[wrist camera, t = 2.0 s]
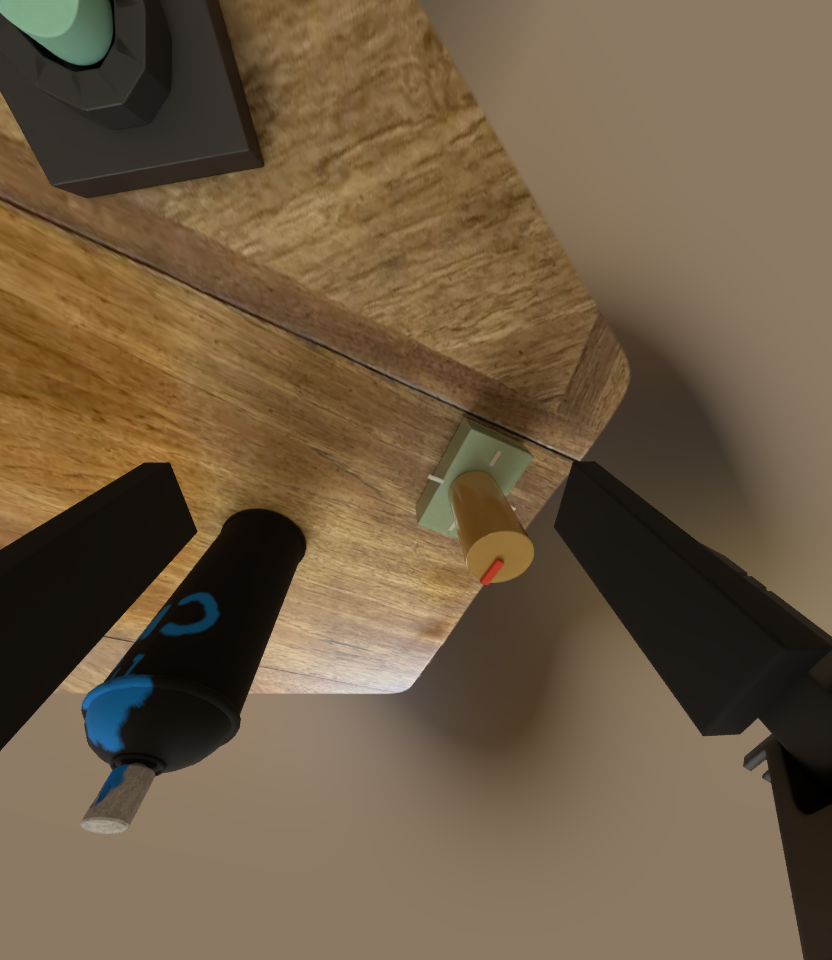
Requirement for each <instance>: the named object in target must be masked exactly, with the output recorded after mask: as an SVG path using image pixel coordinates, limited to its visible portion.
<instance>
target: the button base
mask: <svg viewBox="0 0 832 960" xmlns="http://www.w3.org/2000/svg"><path fill="white" fill-rule="evenodd" d="M110 3H111V8H112V14H113V37H112V42H111V45H110V48H109V50H108V52H107V54H106V55H105V56H104V58H102V59H101V60H100V61H99V62H97V63H95V64H92V65H85V66H83V65H76V64H72V63H69V62H67V61H65V60H63V59H61V58H59V57H58V56H56V55H55V54H53V53H52V52H50V51H49V50H48V49H46V48H45V47H44V46H42V45H41V44H40V43H38V42H37V41H36V40H34V39H33V38H32V37H30V36H29V35H28V34H26V33H25V32H24V31H22V30H21V29H20V28H18V27H17V26H15V25H14V24H13V23H11V22H10V21H9V20H8V19H7V18H5V17H4V16H3V15H2V14H1V13H0V91H1V93H2V95H3V97H4V99H5V100H6V102H7V104H8V106H9V108H10V110H11V111H12V113H13V115H14V117H15V119H16V121H17V123H18V124H19V126H20V128H21V130H22V132H23V134H24V136H25V137H26V139H27V141H28V143H29V145H30V147H31V149H32V150H33V152H34V154H35V156H36V158H37V160H38V162H39V163H40V165H41V167H42V169H43V171H44V173H45V175H46V176H47V178H48V180H49V182H50V184H51V185H52V186H54V187H57V188H59V189H62V190H65V191H68V192H71V193H73V194H76V195H79V196H82V197H85V198H90V197H96V196H101V195H107V194H113V193H118V192H124V191H129V190H135V189H141V188H146V187H152V186H157V185H163V184H169V183H174V182H180V181H186V180H191V179H197V178H202V177H208V176H214V175H219V174H225V173H230V172H236V171H242V170H247V169H253V168H258V167H263V166H264V162H263V159H262V155H261V151H260V148H259V144H258V141H257V137H256V134H255V130H254V127H253V123H252V119H251V116H250V112H249V109H248V105H247V102H246V98H245V95H244V91H243V87H242V84H241V80H240V77H239V73H238V70H237V66H236V63H235V59H234V55H233V52H232V48H231V45H230V41H229V38H228V34H227V31H226V27H225V23H224V20H223V16H222V13H221V9H220V6H219V2H218V0H110Z"/></svg>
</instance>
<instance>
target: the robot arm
mask: <svg viewBox="0 0 832 960" xmlns="http://www.w3.org/2000/svg"><path fill="white" fill-rule="evenodd" d="M554 528H555V529H556V531H557V532H558V533H559V535H560V536H561V538H562V539H563V540H564V542H565V543H566V545H567V546H568V547H569V549H570V550H571V552H572V553H573V554H574V556H575V557H576V559H577V560H578V561H579V563H580V564H581V566H582V567H583V569H584V570H585V571H586V573H587V574H588V576H589V577H590V578H591V580H592V581H593V582H594V584H595V585H596V587H597V588H598V590H599V591H600V592H601V593H602V595H603V597H604V598H605V599H606V601H607V602H608V604H609V605H610V606H611V608H612V609H613V611H614V612H615V613H616V615H617V616H618V618H619V619H620V620H621V622H622V623H623V625H624V626H625V627H626V629H627V630H628V632H629V633H630V634H631V636H632V637H633V639H634V640H635V641H636V643H637V644H638V646H639V647H640V648H641V650H642V651H643V653H644V654H645V655H646V657H647V658H648V660H649V661H650V662H651V664H652V665H653V667H654V668H655V670H656V671H657V672H658V674H659V675H660V676H661V678H662V679H663V681H664V682H665V684H666V685H667V686H668V688H669V689H670V691H671V692H672V693H673V695H674V696H675V698H676V699H677V700H678V702H679V703H680V705H681V706H682V707H683V709H684V710H685V712H686V713H687V714H688V716H689V717H690V719H691V720H692V721H693V723H694V724H695V726H696V727H697V728H698V730H699V731H700V733H701V734H702V735H703V736H716V735H735V734H741V733H742V732H743V731H744V730H745V729H746V728H747V727H749V726H750V725H751V724H752V723H753V722H754V721H755V720H756V719H757V718H759V719H760V720H761V721H762V723H763V724H764V725H765V726H766V727H767V728H768V729H769V730H770V732H771V733H772V734H771V735H770V736H769V737H767V738H766V739H765V740H764V741H763V742H762V743H760V744H759V745H758V746H757V747H755V748H754V749H753V750H752V751H751V752H750V753H748V754H747V755H746V756H745V758H744V764H743V767H745V768H746V769H748V770H750V771H751V770H753V769H754V768H755V767H757V766H758V765H759V764H760V763H762V762H763V761H764V760H767V763H768V768H769V770H767V771H766V772H765V773H764V774H763V776H762V778H763V779H765V780H767V781H769V782H770V783H771V784H772V790H773V795H774V801H775V806H776V812H777V817H778V823H779V828H780V833H781V839H782V844H783V850H784V855H785V860H786V866H787V871H788V877H789V882H790V887H791V892H792V898H793V904H794V909H795V915H796V920H797V925H798V931H799V936H800V941H801V946H802V952H803V958H804V960H832V637H831V636H830V635H829V634H827V633H826V632H825V631H823V630H822V629H821V628H819V627H818V626H817V625H815V624H814V623H813V622H811V621H810V620H809V619H807V618H806V617H805V616H803V615H802V614H801V613H800V612H798V611H797V610H796V609H794V608H793V607H792V606H790V605H789V604H788V603H786V602H785V601H784V600H782V599H781V598H780V597H778V596H777V595H776V594H774V593H773V592H772V591H767V590H766V587H765V586H764V585H763V584H761V583H760V582H759V581H757V580H756V579H755V578H753V577H752V576H748V575H747V572H745V571H744V570H743V569H741V568H740V567H739V566H737V565H736V564H735V563H733V562H732V561H731V560H729V559H728V558H727V557H726V556H724V555H722V554H720V553H718V552H716V551H714V550H713V549H710V548H709V547H707V546H705V545H703V544H701V543H699V542H698V541H696V540H695V539H694V538H692V537H691V536H690V535H689V534H687V533H686V532H685V531H683V530H682V529H681V528H680V527H678V526H677V525H676V524H674V523H673V522H672V521H671V520H669V519H668V518H667V517H666V516H664V515H663V514H662V513H660V512H659V511H658V510H656V509H655V508H654V507H652V506H651V505H650V504H649V503H648V502H646V501H645V500H644V499H642V498H641V497H640V496H638V495H637V494H636V493H635V492H633V491H632V490H631V489H630V488H628V487H627V486H626V485H624V484H623V483H622V482H621V481H619V480H618V479H617V478H615V477H614V476H613V475H612V474H610V473H609V472H608V471H606V470H605V469H604V468H603V467H601V466H600V465H599V464H597V463H596V462H573V463H572V467H571V470H570V473H569V477H568V480H567V484H566V487H565V491H564V494H563V497H562V501H561V504H560V508H559V511H558V515H557V518H556V521H555V525H554ZM196 533H197V529H196V527H195V524H194V522H193V519H192V517H191V514H190V512H189V509H188V507H187V504H186V502H185V499H184V497H183V494H182V492H181V489H180V487H179V484H178V482H177V479H176V477H175V474H174V472H173V469H172V467H171V464H170V463H143V464H141V465H140V466H138V467H136V468H135V469H133V470H131V471H130V472H128V473H127V474H125V475H123V476H122V477H120V478H118V479H117V480H115V481H113V482H112V483H110V484H108V485H107V486H105V487H103V488H102V489H100V490H98V491H97V492H95V493H94V494H92V495H90V496H89V497H87V498H85V499H84V500H82V501H80V502H79V503H77V504H75V505H74V506H72V507H70V508H69V509H67V510H65V511H64V512H62V513H60V514H59V515H57V516H56V517H54V518H52V519H51V520H49V521H47V522H46V523H44V524H42V525H41V526H39V527H37V528H36V529H34V530H32V531H31V532H29V533H27V534H26V535H24V536H23V537H21V538H19V539H18V540H16V541H14V542H13V543H11V544H9V545H8V546H6V547H4V548H3V549H1V550H0V751H1V750H2V748H3V747H4V746H5V745H6V744H7V743H8V742H9V741H10V740H11V738H12V737H13V736H14V735H15V734H16V733H17V732H18V731H19V730H20V728H21V727H22V726H23V725H24V724H25V723H26V722H27V721H28V720H29V718H30V717H31V716H32V715H33V714H34V713H35V712H36V711H37V709H38V708H39V707H40V706H41V705H42V704H43V703H44V702H45V701H46V699H47V698H48V697H49V696H50V695H51V694H52V693H53V692H54V691H55V690H56V688H57V687H58V686H59V685H60V684H61V683H62V682H63V681H64V680H65V678H66V677H67V676H68V675H69V674H70V673H71V672H72V671H73V670H74V669H75V667H76V666H77V665H78V664H79V663H80V662H81V661H82V660H83V659H84V657H85V656H86V655H87V654H88V653H89V652H90V651H91V650H92V649H93V647H94V646H95V645H96V644H97V643H98V642H99V641H100V640H101V639H102V637H103V636H104V635H105V634H106V633H107V632H108V631H109V630H110V629H111V627H112V626H113V625H114V624H115V623H116V622H117V621H118V620H119V619H120V617H121V616H122V615H123V614H124V613H125V612H126V611H127V610H128V609H129V607H130V606H131V605H132V604H133V603H134V602H135V601H136V600H137V599H138V597H139V596H140V595H141V594H142V593H143V592H144V591H145V590H146V589H147V587H148V586H149V585H150V584H151V583H152V582H153V581H154V580H155V579H156V577H157V576H158V575H159V574H160V573H161V572H162V571H163V570H164V569H165V567H166V566H167V565H168V564H169V563H170V562H171V561H172V560H173V559H174V557H175V556H176V555H177V554H178V553H179V552H180V551H181V550H182V549H183V547H184V546H185V545H186V544H187V543H188V542H189V541H190V540H191V539H192V537H193V536H194V535H195V534H196Z"/></svg>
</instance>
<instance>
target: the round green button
mask: <svg viewBox="0 0 832 960" xmlns="http://www.w3.org/2000/svg"><path fill="white" fill-rule="evenodd" d="M0 13H1V14H2V15H3V16H4V17H5V18H7V19H8V20H9V21H10V22H11V23H13V24H14V25H15V26H17V27H18V28H20V29H21V30H22V31H24V32H25V33H26V34H28V35H29V36H30V37H32V38H33V39H34V40H36V41H37V42H38V43H40V44H41V45H42V46H44V47H45V48H46V49H48V50H49V51H50V52H52V53H53V54H55V55H56V56H58V57H59V58H61V59H63V60H65V61H67V62H69V63H72V64H76V65H83V66H85V65H92V64H95V63H97V62H99V61H100V60H101V59H102V58H104V56H105V55H106V54H107V52H108V50H109V48H110V45H111V42H112V37H113V14H112V8H111V3H110V0H0Z"/></svg>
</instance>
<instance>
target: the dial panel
mask: <svg viewBox="0 0 832 960" xmlns="http://www.w3.org/2000/svg"><path fill="white" fill-rule="evenodd" d="M533 458H534V456H533V455H532V454H531V453H530V452H529V450H528V449H527V448H526V447H525V446H524V445H523V444H522V443H521V442H518V441H516V440H514V439H512V438H510V437H507V436H505V435H503V434H501V433H499V432H496V431H494V430H492V429H490V428H487V427H485V426H483V425H481V424H479V423H476V422H474V421H472V420H470V419H467V418H465V417H464V418H463V420H462V422H461V424H460V426H459V427H458V429H457V431H456V433H455V435H454V437H453V439H452V440H451V442H450V444H449V446H448V448H447V450H446V451H445V453H444V455H443V457H442V459H441V461H440V463H439V464H438V466H437V468H436V470H435V472H434V474H433V475H431V474H429V475H428V477H427V478H428V479H430V481H429V483H428V485H427V487H426V488H425V490H424V492H423V494H422V496H421V498H420V500H419V501H418V503H417V505H416V516H417V525H419V526H422V527H425V528H428V529H431V530H434V531H436V532H439V533H442V534H445V535H448V536H451V537H454V538H457V539H459V537H458V534H457V530H456V526H455V523H454V519H453V515H452V512H451V508H450V504H449V501H448V490H449V487H450V485H451V484H452V482H453V481H454V480H455V479H456V478H457V477H458V476H460V475H462V474H463V473H466V472H469V471H483V472H486V473H488V474H490V475H491V476H493V477H494V478H495V480H496V481H497V483H498V485H499V487H500V488H501V490H502V492H503V493H504V495H505V497H507V495H508V494H509V492H510V491H511V490H512V488H513V487H514V485H515V484H516V482H517V481H518V479H519V478H520V476H521V475H522V474H523V472H524V471H525V469H526V468H527V466H528V465H529V463H530V462H531V461H532V459H533ZM511 507H512V509H513V511H514V510H515V509H516V507H514V506H511Z"/></svg>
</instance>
